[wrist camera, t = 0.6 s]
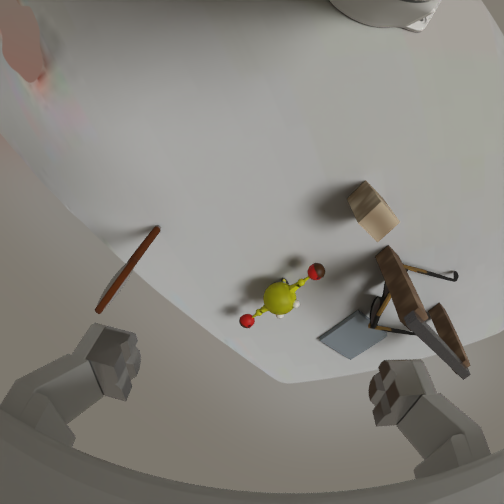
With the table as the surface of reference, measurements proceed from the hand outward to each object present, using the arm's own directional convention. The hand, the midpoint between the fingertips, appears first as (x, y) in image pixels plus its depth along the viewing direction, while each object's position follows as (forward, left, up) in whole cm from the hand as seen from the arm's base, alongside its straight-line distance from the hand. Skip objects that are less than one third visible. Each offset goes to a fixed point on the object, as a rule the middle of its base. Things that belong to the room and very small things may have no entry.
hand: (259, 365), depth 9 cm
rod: (+2, +35, -20) cm, 40 cm away
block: (-2, +14, -35) cm, 38 cm away
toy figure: (+18, +15, -35) cm, 42 cm away
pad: (+18, +35, -35) cm, 53 cm away
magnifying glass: (+23, -7, -35) cm, 42 cm away
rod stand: (+2, +35, -35) cm, 49 cm away
